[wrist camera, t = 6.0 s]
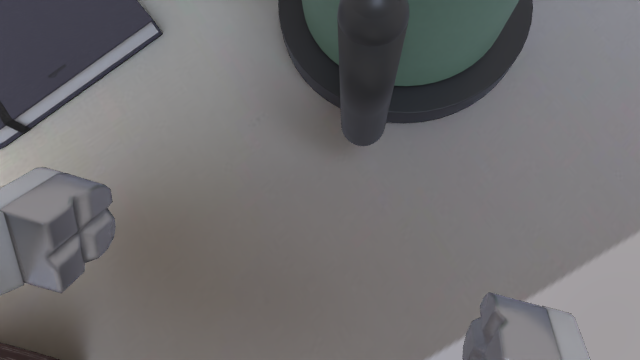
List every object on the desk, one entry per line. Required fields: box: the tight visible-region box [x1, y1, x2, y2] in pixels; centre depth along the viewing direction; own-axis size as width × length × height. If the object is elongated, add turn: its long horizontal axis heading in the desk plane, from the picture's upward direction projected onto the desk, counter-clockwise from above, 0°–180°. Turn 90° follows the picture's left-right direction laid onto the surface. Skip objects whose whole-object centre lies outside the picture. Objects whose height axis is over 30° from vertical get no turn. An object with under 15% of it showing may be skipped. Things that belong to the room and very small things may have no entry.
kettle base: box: [278, 0, 533, 123], centre depth 26 cm, size 15×15×2 cm
